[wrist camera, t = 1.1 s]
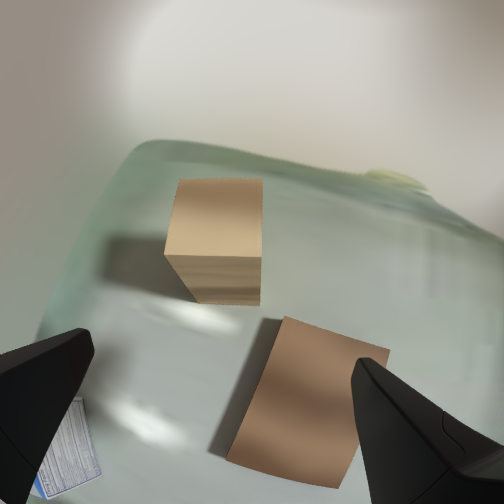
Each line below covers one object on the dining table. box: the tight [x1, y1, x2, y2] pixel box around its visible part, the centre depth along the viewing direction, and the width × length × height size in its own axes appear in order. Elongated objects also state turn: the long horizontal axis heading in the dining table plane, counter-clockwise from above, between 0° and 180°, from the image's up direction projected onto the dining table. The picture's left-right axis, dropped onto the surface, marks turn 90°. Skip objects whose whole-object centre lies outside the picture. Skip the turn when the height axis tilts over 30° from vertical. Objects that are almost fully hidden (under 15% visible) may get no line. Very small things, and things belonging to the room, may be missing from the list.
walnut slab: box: [225, 316, 390, 489], centre depth 18 cm, size 12×9×2 cm
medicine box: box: [30, 397, 102, 500], centre depth 13 cm, size 8×4×9 cm, turn 13°
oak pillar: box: [164, 178, 263, 306], centre depth 19 cm, size 5×5×10 cm
